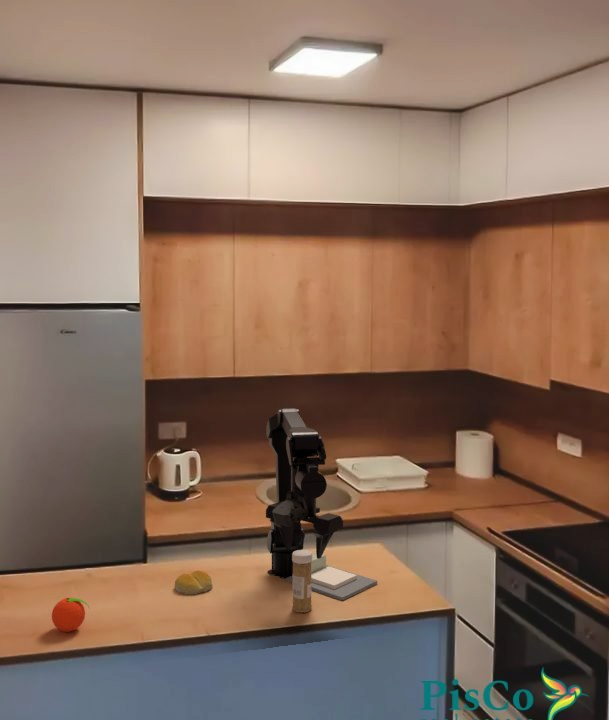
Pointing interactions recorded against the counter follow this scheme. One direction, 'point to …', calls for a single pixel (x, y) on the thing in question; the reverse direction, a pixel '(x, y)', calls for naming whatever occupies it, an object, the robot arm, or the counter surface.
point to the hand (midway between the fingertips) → (303, 553)
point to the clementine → (68, 614)
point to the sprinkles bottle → (302, 580)
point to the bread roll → (193, 583)
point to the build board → (335, 580)
